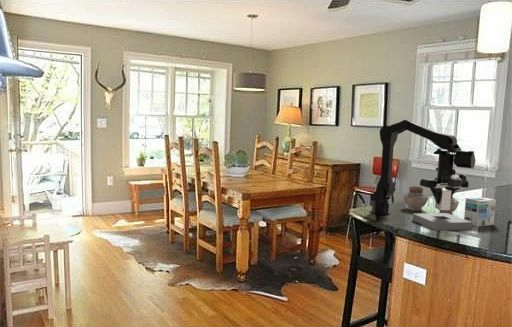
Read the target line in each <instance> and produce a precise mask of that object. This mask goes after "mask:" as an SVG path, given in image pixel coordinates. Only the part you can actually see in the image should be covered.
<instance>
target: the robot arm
mask: <svg viewBox="0 0 512 327" xmlns="http://www.w3.org/2000/svg"><path fill="white" fill-rule="evenodd" d="M406 131H408V132H411V133H413V134H414V135H415V134H416V135H417V136H420V137H422V138H424V139H426V140H429V141H430V142H432V144H434V145H436V146H437V147H438V148H437V150H435V151H434V152H433V154H434V155H438V160H437V161H438V162H437V167H435V171H437V174H436V177H435V178H434V179H431V178H421V179H420V181H419V187H423V188H424V187H425V188H428V189H430V191H431V193H432V195H433V197H434V201H436V203H437V204H439V202H440V192H441V190H442V188H443V187H441V186H445V187H444V188H445V189H448V190H451V198H452V197H453V196H454V194H455V193H456V192H457V191H458V190H461V188H469V185H470V184H469V180H467V175H466V174H462V173H461V174H456V168H461V169H471V170H473V169H474V168H475V165H476V161H477V160H476V156H475V151H474V150H469V151H467V150H462V148H461V147H460V145H459V144H458V139H457V137H456V136H455V135H453V134H447V133H443V132H439V131H435V130H433V129H431V128H428V127H426V126H424V125H420V124H419V123H416V122H414V121H412V120H409V119H403V120H401V121H399V122H395V123H393V124H389V125H384V126H382V127H381V128H380V129H379V138H380V139H379V140H380V143H381V145H382V151H381V167H380V177H379V180H378V181H377V185H376V188H375V191H374V192H373V193H372V194H371V195H370V200H371V201H372V202H371V210H369V213H372V214H374V215H376V216H382V215H383V216H384V215H385V216H386V215H388V216H389V215H390V213H389V210H390V204H389V200H390V199H391V197H392V196H393V195H394V194H395V192H396V186H397V185H396V184H397V183H396V181H393V179H392V177H393V176H392V175H393V174H392V173H393V162H394V160H393V159H394V146H395V144H396V142H397V141H398V137H399V136H398V135H399V134H402V133H404V132H406ZM454 165H455V166H456V168H455V169H454Z"/></svg>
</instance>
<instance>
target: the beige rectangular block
mask: <svg viewBox="0 0 512 327" xmlns="http://www.w3.org/2000/svg"><path fill="white" fill-rule="evenodd" d="M434 201H435V200H434ZM450 202H451V190H448V189H442V190H441V192H440V202H439V204H437V203H436V201H435V202H434V203H435V204H434V209H436V210H439V211H440V210H450Z"/></svg>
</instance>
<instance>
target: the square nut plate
mask: <svg viewBox="0 0 512 327" xmlns="http://www.w3.org/2000/svg"><path fill="white" fill-rule="evenodd" d="M412 222H415V223H417V222H418V223H417V224H419V223H420V225H422V226H424V227H426V226H427V228H428V227H429V229H431V230H432V231H433V230H434V231H464V230H465V231H470V230H473V225H472V222H470V221H468V220H465V219H464V218H462V217H458V216H456V215H454V214H453V215H451V214H448V213H439V212H436V213H435V212H433V213H432V212H431V213H428V212H427V213H413V214H412Z"/></svg>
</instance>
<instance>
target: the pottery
mask: <svg viewBox="0 0 512 327" xmlns="http://www.w3.org/2000/svg"><path fill="white" fill-rule="evenodd" d="M441 188H442V189H445V187H441ZM408 190H409V191H408V192H407V193H405V194H403V196H402V197H403V198H402V199H403V201H404V203H405V205H407V208H409V209H408V210H410V209H411V210H410V211H415V210H420V211H422V208H424V207H425V205H427V203H428V201H429V196H428V195H427V194H425V193H423V191H424V187H423V186H414V185H413V186H411V185H410V186H409V188H408ZM459 204H460V202H459V200H458V199H456V198H455V197H453V196H452V198H451V202H450V210H439V212H438V213H448V214H451V215H454V212H455V211H456V210H457V209H458V207H459Z"/></svg>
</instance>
